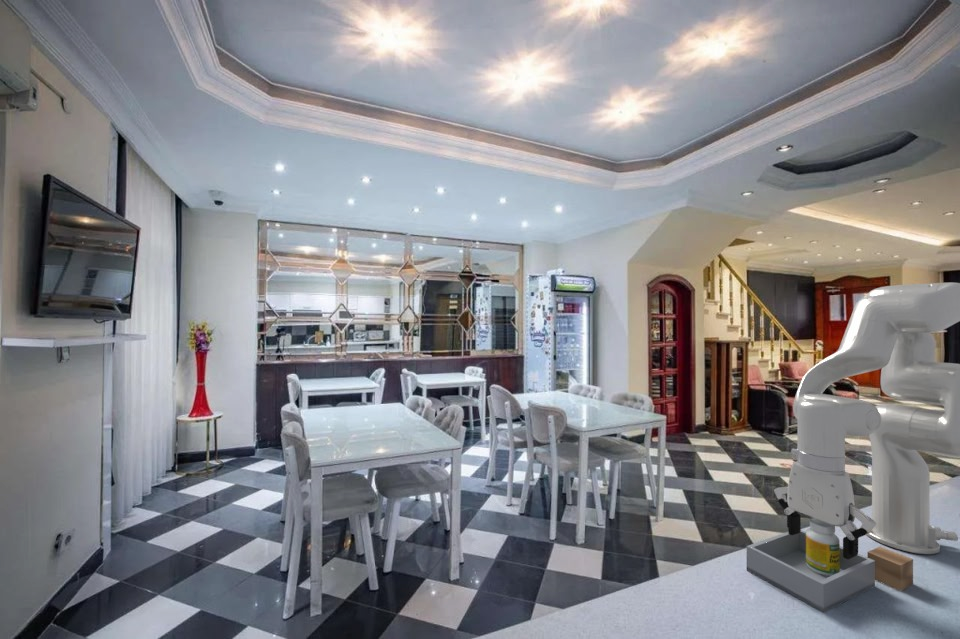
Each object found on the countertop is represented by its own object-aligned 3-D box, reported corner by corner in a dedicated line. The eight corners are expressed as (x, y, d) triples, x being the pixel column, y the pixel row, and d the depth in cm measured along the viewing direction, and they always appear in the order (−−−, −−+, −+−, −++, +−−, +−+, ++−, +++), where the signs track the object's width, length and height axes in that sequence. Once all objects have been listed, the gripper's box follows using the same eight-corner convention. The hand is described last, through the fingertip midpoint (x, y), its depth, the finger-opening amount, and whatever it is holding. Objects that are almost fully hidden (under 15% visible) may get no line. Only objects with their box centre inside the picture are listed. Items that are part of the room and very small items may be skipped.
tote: (797, 550, 93) (797, 528, 93) (874, 586, 80) (874, 560, 80) (746, 570, 86) (746, 546, 86) (823, 612, 73) (823, 584, 73)
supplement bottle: (812, 558, 88) (812, 513, 88) (844, 571, 84) (844, 524, 84) (800, 566, 85) (800, 520, 85) (833, 580, 81) (833, 532, 81)
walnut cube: (880, 570, 86) (880, 546, 86) (913, 584, 81) (913, 559, 81) (867, 576, 84) (867, 552, 84) (900, 591, 79) (900, 565, 79)
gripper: (765, 451, 91) (765, 529, 91) (864, 478, 75) (864, 573, 75) (785, 446, 94) (785, 522, 94) (885, 472, 78) (885, 563, 78)
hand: (820, 544), depth 85 cm, fingers open, 9 cm apart
